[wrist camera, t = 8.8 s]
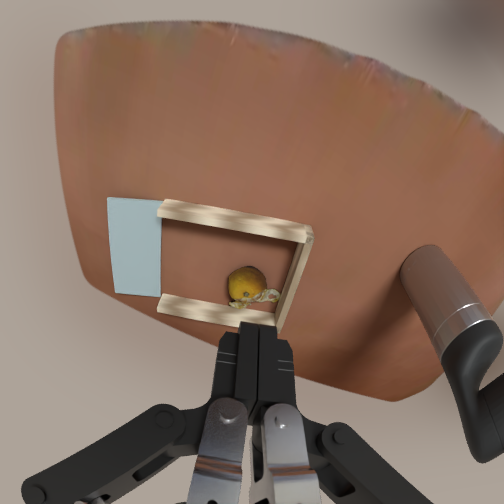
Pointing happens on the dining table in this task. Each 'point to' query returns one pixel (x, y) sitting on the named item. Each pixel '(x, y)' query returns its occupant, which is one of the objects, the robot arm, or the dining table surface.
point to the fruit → (249, 287)
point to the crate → (244, 224)
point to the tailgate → (135, 245)
